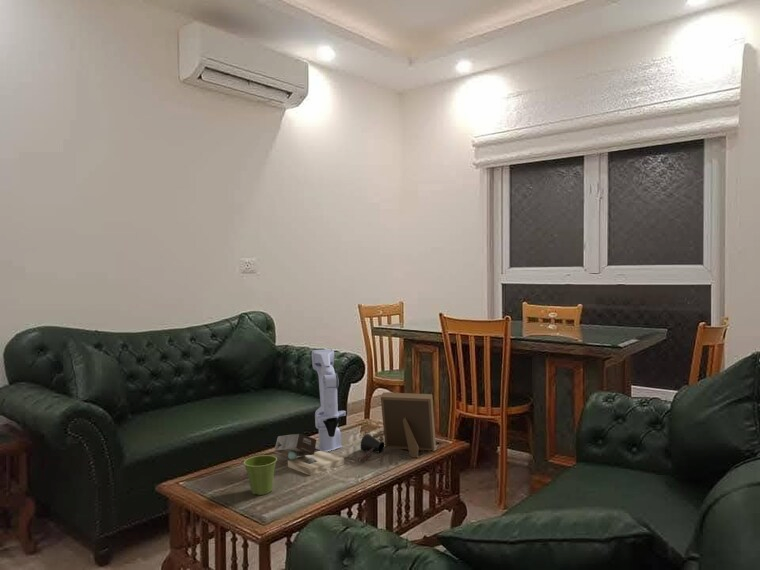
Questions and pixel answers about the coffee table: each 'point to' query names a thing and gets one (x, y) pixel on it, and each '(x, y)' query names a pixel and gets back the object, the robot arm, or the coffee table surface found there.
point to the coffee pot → (370, 446)
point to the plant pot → (261, 473)
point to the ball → (310, 461)
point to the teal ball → (292, 455)
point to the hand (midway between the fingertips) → (331, 436)
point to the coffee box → (295, 444)
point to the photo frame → (408, 421)
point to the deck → (316, 463)
